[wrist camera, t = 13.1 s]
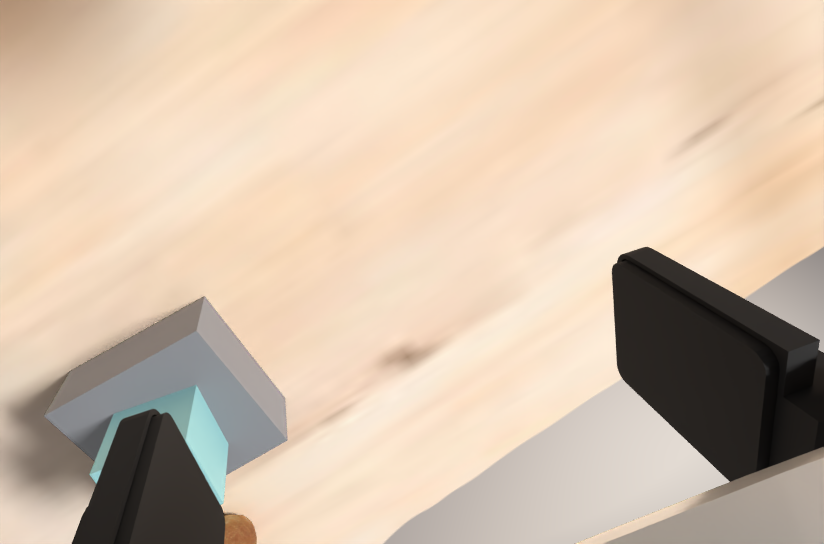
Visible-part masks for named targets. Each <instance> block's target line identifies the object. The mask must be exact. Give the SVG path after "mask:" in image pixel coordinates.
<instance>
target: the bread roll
mask: <svg viewBox="0 0 824 544" xmlns="http://www.w3.org/2000/svg"><path fill="white" fill-rule="evenodd" d="M224 517H225V539H224V544H256V541H257V537H256V532H255V529H254V526H253V524H252V522H251V521H250V520H249V519H248V518H246V517H245V516H243V515H232V514H230V515H226V516H224Z"/></svg>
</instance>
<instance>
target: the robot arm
mask: <svg viewBox="0 0 824 544" xmlns="http://www.w3.org/2000/svg"><path fill="white" fill-rule="evenodd" d="M612 281H613V299H614V317H615V335H616V354H617V367H618V370H619V373H620V375H621V377H622V378H623V380H624V381H625V382H626V383H627V384H628V385H629V386H630V387H631V388H632V389H633V390H634V391H635V392H637V394H639V395H640V396H641V397H642V398H643V399H644V400H645V401H646V402H647V403H648V404H649V405H650V406H651V407H652V408H653V409H654V410H655V411H657V413H658V414H660V415H661V416H662V417H663V418H664V419H665V420H666V421H667V422H668V423H669V424H670V425H671V426H672V427H673V428H674V429H675V430H676V431H677V432H678V433H679V434H681V435H682V436H683V437H684V438H685V439H686V440H687V441H688V442H689V443H690V444H691V445H692V446H693V447H694V448H695V449H696V450H697V451H698V452H699V453H700V454H702V455H703V456H704V457H705V458H706V459H707V460H708V461H709V462H710V463H711V464H712V465H713V466H714V467H715V468H716V469H717V470H718V471H719V472H720V473H721V474H722V475H724V476H725V477H726V478H727V479H728V480H729V481H730V482H729V483H727V484H724V485H721V486H719V487H716V488H714V489H711V490H709V491H706V492H704V493H701V494H699V495H696V496H694V497H691V498H689V499H686V500H684V501H681V502H679V503H676V504H674V505H671V506H668V507H666V508H664V509H661V510H658V511H656V512H653V513H651V514H648V515H646V516H644V517H641V518H638V519H636V520H633V521H631V522H628V523H626V524H623V525H621V526H618V527H615V528H613V529H610V530H608V531H605V532H603V533H600V534H598V535H595V536H593V537H590V538H588V539H585V540H583V541H581V542H578V543H576V544H824V353H823V352H821V351H819V350H818V348H819V341H820V340H819V339H817V338H815V337H813V336H811V335H809V334H808V333H806V332H804V331H802V330H800V329H798V328H797V327H795V326H793V325H791V324H789V323H787V322H786V321H784V320H782V319H780V318H778V317H776V316H775V315H773V314H771V313H769V312H767V311H765V310H764V309H762V308H760V307H758V306H756V305H754V304H752V303H751V302H749V301H747V300H745V299H743V298H742V297H740V296H738V295H736V294H734V293H732V292H731V291H729V290H727V289H725V288H723V287H721V286H719V285H718V284H716V283H714V282H712V281H710V280H708V279H707V278H705V277H703V276H701V275H699V274H697V273H696V272H694V271H692V270H690V269H688V268H686V267H685V266H683V265H681V264H679V263H677V262H675V261H674V260H672V259H670V258H668V257H666V256H664V255H663V254H661V253H659V252H657V251H655V250H653V249H652V248H649V247H643V248H640V249H637V250H634V251H631V252H628V253H625V254H622V255H620V256H619V258H618V261H617V263H616V264H614V265H613V268H612ZM224 539H225V517H224V513H223V510H222V507H221V505H220V504H219V502H218V500H217V498H216V496H215V494H214V493H213V491H212V489H211V487H210V485H209V483H208V482H207V480H206V478H205V476H204V474H203V473H202V471H201V469H200V467H199V465H198V463H197V462H196V460H195V458H194V456H193V454H192V452H191V451H190V449H189V447H188V445H187V443H186V441H185V440H184V438H183V436H182V434H181V432H180V431H179V429H178V427H177V425H176V423H175V421H174V420H173V418H172V416H171V415H170V414H169V413H167V412H166V413H163V414H160V413H159V411H157V410H156V409H150V410H147V411H144V412H141V413H138V414H135V415H132V416H129V417H126V418H124V419H122V420H121V421H120V423H119V425H118V428H117V431H116V433H115V436H114V439H113V441H112V444H111V447H110V449H109V452H108V455H107V457H106V460H105V463H104V465H103V468H102V471H101V473H100V476H99V479H98V481H97V484H96V487H95V490H94V492H93V495H92V498H91V500H90V503H89V506H88V507H87V508H86V510H85V512H84V514H83V515H82V518H81V521H80V523H79V526H78V529H77V531H76V534H75V537H74V539H73V542H72V544H224Z"/></svg>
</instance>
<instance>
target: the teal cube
mask: <svg viewBox="0 0 824 544" xmlns="http://www.w3.org/2000/svg"><path fill="white" fill-rule="evenodd" d="M150 409H156V410H157V411H159V413H160V414H163V413H166V412H167V413H169V414H170V415H171V416H172V418H173V420H174V421H175V423H176V425H177V427H178V429H179V431H180V432H181V434H182V436H183V438H184V440H185V441H186V443H187V445H188V447H189V449H190V451H191V452H192V454H193V456H194V458H195V460H196V462H197V463H198V465H199V467H200V469H201V471H202V473H203V474H204V476H205V478H206V480H207V482H208V483H209V485H210V487H211V489H212V491H213V493H214V494H215V496H216V498H217V500H218V502H219V504H220V505H221V504H223V503H224V491H225V480H226V468H227V456H228V445H229V444H228V442H227V440H226V439H225V437H224V435H223V433H222V431H221V429H220V427H219V426H218V424H217V422H216V420H215V418H214V416H213V415H212V413H211V411H210V409H209V407H208V405H207V403H206V402H205V400H204V398H203V396H202V394H201V392H200V391H199V389H198V387H197V385H194V386H191V387H189V388H186V389H183V390H180V391H177V392H174V393H172V394H169V395H166V396H163V397H160V398H157V399H155V400H152V401H149V402H146V403H143V404H140V405H137V406H135V407H132V408H129V409H126V410H123V411H120V412H118V413H115V414H113V417H112V419H111V422H110V424H109V427H108V429H107V432H106V434H105V437H104V439H103V442H102V444H101V447H100V449H99V452H98V454H97V457H96V459H95V462H94V464H93V467H92V469H91V472H90V474H89V475H90V476H91V477H92V479H93V480H94V481H95V483H96V484H97V481H98V479H99V476H100V473H101V471H102V468H103V465H104V463H105V460H106V457H107V455H108V452H109V449H110V447H111V444H112V441H113V439H114V436H115V433H116V431H117V428H118V425H119V423H120V421H121V420H122V419H124V418H126V417H129V416H132V415H135V414H138V413H141V412H144V411H147V410H150Z"/></svg>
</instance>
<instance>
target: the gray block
mask: <svg viewBox="0 0 824 544" xmlns="http://www.w3.org/2000/svg"><path fill="white" fill-rule="evenodd" d="M194 385H197V387H198V389H199V391H200V392H201V394H202V396H203V398H204V400H205V402H206V403H207V405H208V407H209V409H210V411H211V413H212V415H213V416H214V418H215V420H216V422H217V424H218V426H219V427H220V429H221V431H222V433H223V435H224V437H225V439H226V440H227V442H228V444H229V445H228V456H227V468H226V475H227V474H229V473H231V472H232V471H234V470H236V469H238V468H240V467H241V466H243V465H245V464H247V463H248V462H250V461H252V460H254V459H255V458H257V457H259V456H261V455H262V454H264V453H266V452H268V451H269V450H271V449H273V448H275V447H277V446H278V445H280V444H282V443H284V442H285V441H287V423H286V406H285V397H284V396H283V395H282V394H281V392H280V391H279V390H278V388H277V387H276V386H275V385H274V383H273V382H272V381H271V380H270V378H269V377H268V376H267V375H266V373H265V372H264V371H263V369H262V368H261V367H260V366H259V364H258V363H257V362H256V361H255V359H254V358H253V357H252V356H251V354H250V353H249V352H248V351H247V349H246V348H245V347H244V345H243V344H242V343H241V342H240V340H239V339H238V338H237V337H236V335H235V334H234V333H233V332H232V330H231V329H230V328H229V326H228V325H227V324H226V323H225V321H224V320H223V319H222V318H221V316H220V315H219V314H218V313H217V311H216V310H215V309H214V308H213V306H212V305H211V304H210V302H209V301H208V300H207V299H206V297H205V296H204V297H202V298H200V299H199V300H197V301H195V302H193V303H191V304H190V305H188V306H186V307H184V308H182V309H181V310H179V311H177V312H175V313H173V314H172V315H170V316H168V317H166V318H164V319H163V320H161V321H159V322H157V323H155V324H154V325H152V326H150V327H148V328H146V329H145V330H143V331H141V332H139V333H137V334H136V335H134V336H132V337H130V338H129V339H127V340H125V341H123V342H121V343H120V344H118V345H116V346H114V347H112V348H111V349H109V350H107V351H105V352H103V353H102V354H100V355H98V356H96V357H94V358H93V359H91V360H89V361H87V362H85V363H84V364H82V365H80V366H78V367H76V368H75V369H73V370H71V371H70V372H69V374H68V375H67V377H66V379H65V381H64V382H63V384H62V386H61V387H60V389H59V391H58V392H57V394H56V396H55V398H54V399H53V401H52V403H51V404H50V406H49V408H48V409H47V411H46V413H45V415H44V417H45V418H46V419H48V420H49V421H50V422H51V423H52V424H53V425H54V426H55V427H57V428H58V429H59V430H60V431H61V432H62V433H63V434H64V435H65V436H67V437H68V438H69V439H70V440H71V441H72V442H73V443H74V444H76V445H77V446H78V447H79V448H80V449H81V450H82V451H83V452H85V453H86V454H87V455H88V456H89V457H90V458H91V459H92V460H93V461H95V459H96V457H97V454H98V452H99V449H100V447H101V444H102V442H103V439H104V437H105V434H106V432H107V429H108V427H109V424H110V422H111V419H112V417H113V414H115V413H118V412H120V411H123V410H126V409H129V408H132V407H135V406H137V405H140V404H143V403H146V402H149V401H152V400H155V399H157V398H160V397H163V396H166V395H169V394H172V393H174V392H177V391H180V390H183V389H186V388H189V387H191V386H194Z"/></svg>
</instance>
